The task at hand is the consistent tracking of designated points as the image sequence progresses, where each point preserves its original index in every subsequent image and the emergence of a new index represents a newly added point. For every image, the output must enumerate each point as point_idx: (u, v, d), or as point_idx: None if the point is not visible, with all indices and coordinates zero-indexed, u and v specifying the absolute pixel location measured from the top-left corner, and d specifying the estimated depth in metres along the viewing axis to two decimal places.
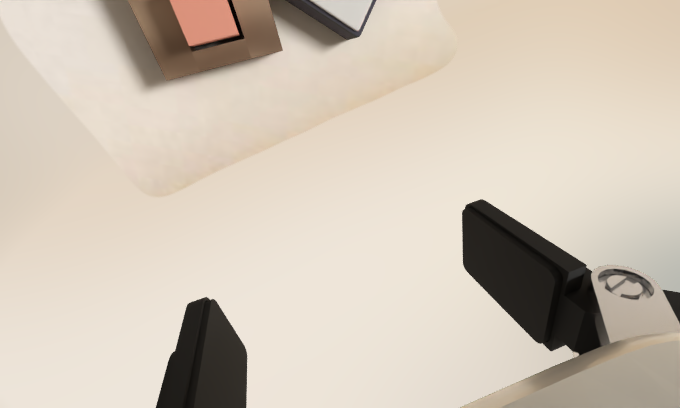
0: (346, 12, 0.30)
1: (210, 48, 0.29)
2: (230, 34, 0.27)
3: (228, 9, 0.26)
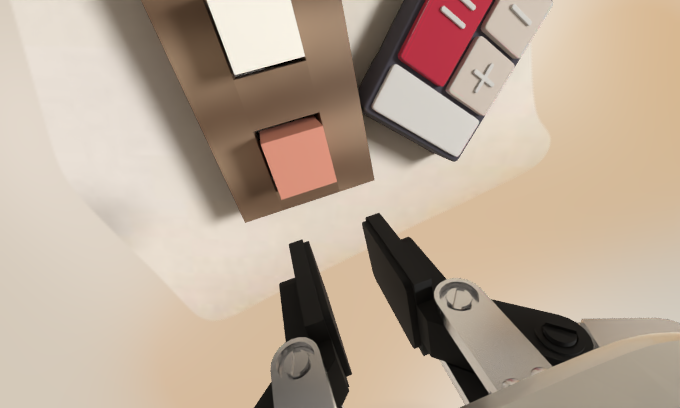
0: (448, 140, 0.26)
1: None
2: (328, 183, 0.23)
3: (329, 159, 0.22)
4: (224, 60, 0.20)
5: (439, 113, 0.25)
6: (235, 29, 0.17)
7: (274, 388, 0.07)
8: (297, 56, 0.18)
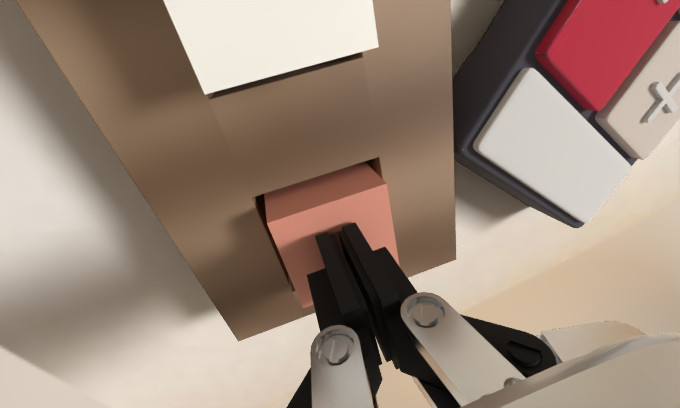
0: (580, 198, 0.16)
1: None
2: None
3: (392, 238, 0.12)
4: (187, 56, 0.09)
5: (580, 156, 0.14)
6: None
7: (313, 370, 0.07)
8: (361, 47, 0.07)
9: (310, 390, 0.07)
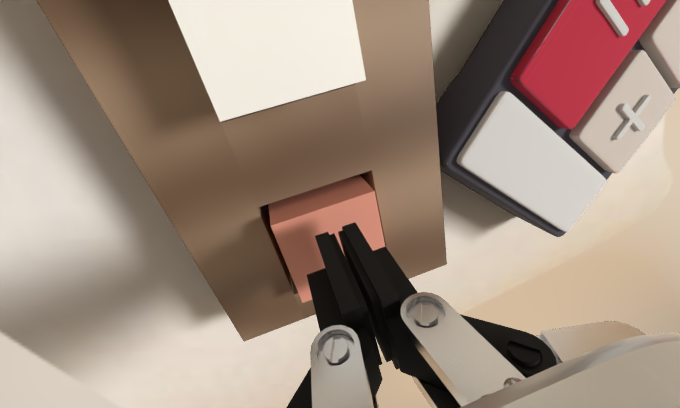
0: (560, 208, 0.17)
1: None
2: None
3: (381, 240, 0.14)
4: (203, 87, 0.10)
5: (556, 170, 0.16)
6: (219, 24, 0.07)
7: (313, 370, 0.07)
8: (351, 80, 0.09)
9: (310, 390, 0.07)
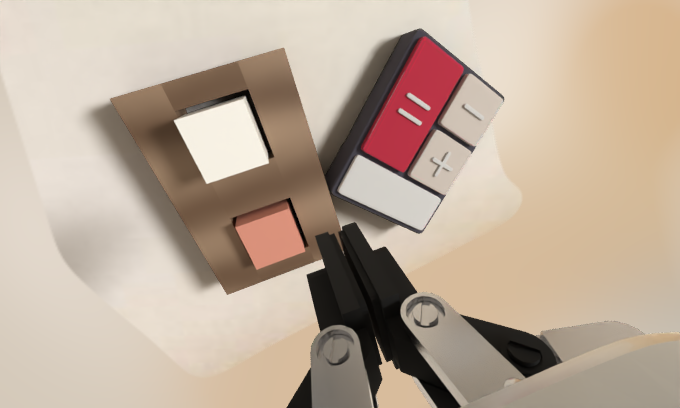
0: (412, 216, 0.28)
1: None
2: (297, 253, 0.26)
3: (297, 234, 0.25)
4: None
5: (402, 194, 0.27)
6: (205, 149, 0.20)
7: (313, 370, 0.07)
8: (261, 164, 0.21)
9: (310, 390, 0.07)
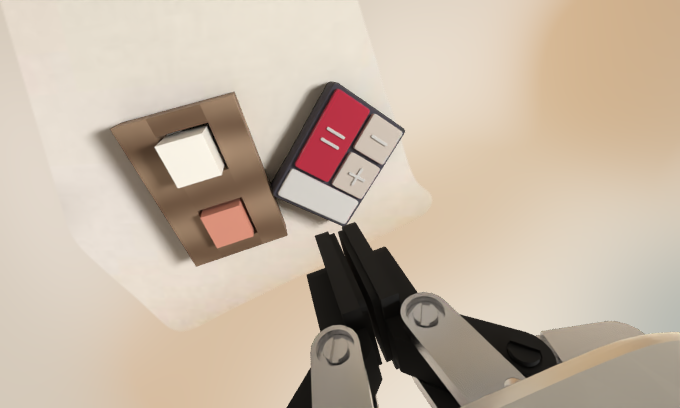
0: (336, 213, 0.39)
1: None
2: (247, 237, 0.36)
3: (246, 223, 0.35)
4: None
5: (327, 197, 0.37)
6: (176, 165, 0.29)
7: (313, 370, 0.07)
8: (216, 175, 0.30)
9: (310, 390, 0.07)
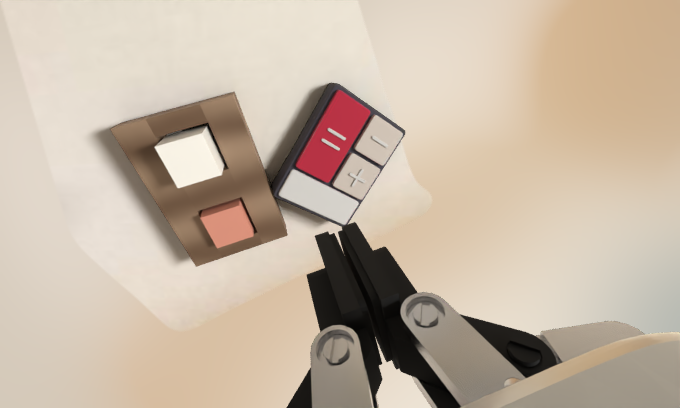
0: (336, 214, 0.39)
1: None
2: (247, 237, 0.36)
3: (246, 223, 0.35)
4: None
5: (327, 198, 0.37)
6: (176, 165, 0.29)
7: (313, 370, 0.07)
8: (216, 175, 0.30)
9: (310, 390, 0.07)
